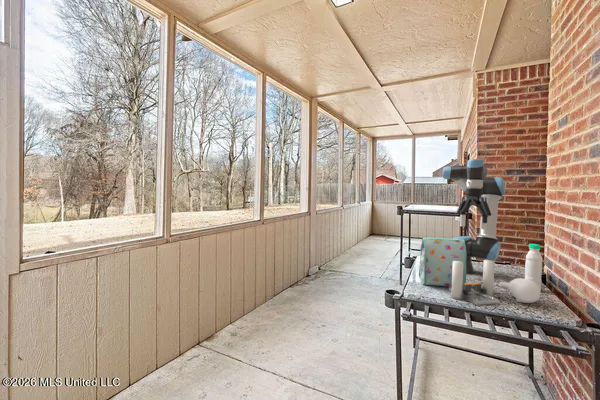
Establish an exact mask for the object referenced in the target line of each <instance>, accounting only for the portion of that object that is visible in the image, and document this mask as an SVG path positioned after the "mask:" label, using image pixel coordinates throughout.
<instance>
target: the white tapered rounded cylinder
mask: <svg viewBox="0 0 600 400" xmlns="http://www.w3.org/2000/svg"><path fill="white" fill-rule="evenodd" d="M462 284H463V262H461V261H453V265H452V291H451V292H450V293H451V294H450V296H449V297H450V298H451V299H452V298H453V300H456V299H457V301H462V300H463V299H464V298H463V297H462Z"/></svg>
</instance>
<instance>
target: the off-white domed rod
mask: <svg viewBox="0 0 600 400" xmlns="http://www.w3.org/2000/svg"><path fill="white" fill-rule="evenodd" d="M482 264H483V267H482V284H481V288H482V289H484V290H486V294H487V295H490V296H492V297H494V298H495V295H494V284H495V283H494V281H495V260H487V259H483V263H482Z"/></svg>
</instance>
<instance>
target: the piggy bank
mask: <svg viewBox="0 0 600 400" xmlns="http://www.w3.org/2000/svg"><path fill="white" fill-rule="evenodd" d="M499 285H500V286H502V287H506V288H509V289H508V290H509V292H510V293H511V294H512V296H513V297H514V298H515V301H516V302H519V303H522V304H524V303H525V304H529V303H531V304H532V303H535V302H537V301H538V300H539V299H540V298H541V294H542V293H541V291H540V289H539V287H538V286H537V285H536V284H535V283H534V282H532V281H530V280H527V279H525V278H521V277H519V278H514V279H512V280H511V281H510V282H504V281H500V282H499Z"/></svg>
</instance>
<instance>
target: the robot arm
mask: <svg viewBox="0 0 600 400" xmlns="http://www.w3.org/2000/svg"><path fill="white" fill-rule="evenodd" d="M484 161H485V160H484V159H483V158H471V159H468V160H467V164H466V165H455V166H454V165H449V166H448V165H447V166H445V167H443V169H442V174H441V175H442V178H443V179H444V180H452V182H454V183H455V184H457V185H458V187H459V189H460V190H461V191H463V192H465V196H462V197H461V202H460V203H459V206H458V209H457V211H456V214H459V227H466V220H467V219H466V218H467V217H466V216H467V215H466V213H467V211H468V210H469V208H471V207H472V206H475V207H476V208H477V210H478V211H479V213H480V215H481V216H480V223H479V234H478V235H477V236H475V237H476V238H475V239H473V237H472V236H470V235H469V236H467V235H466V236H465V235H464V236H463V235H461V236H460V235H459V236H453V237H452V238H451V239H454V238H458V239H464V241H465V246H466V275H468V274H469V275H471V274H472V275H473V274H474V272H475V269H474V265H473V262H472V258H477V259H482V260H491V261H496V260H497V259H498V257H499V255H500V252H501V246H502V244H501V242H500V241H499V239H498V238H497V237H496V234H497V233H496V232H497V222H498V210H499V202H500V200H501V199H502V198H503V196H505V195H506V187H505V185H506V184H505V181H504V178H503V177H495V176H494V177H493V176H492V177H487V176H488V175H489V170H488V168H487V167H486V166H485V162H484Z"/></svg>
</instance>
